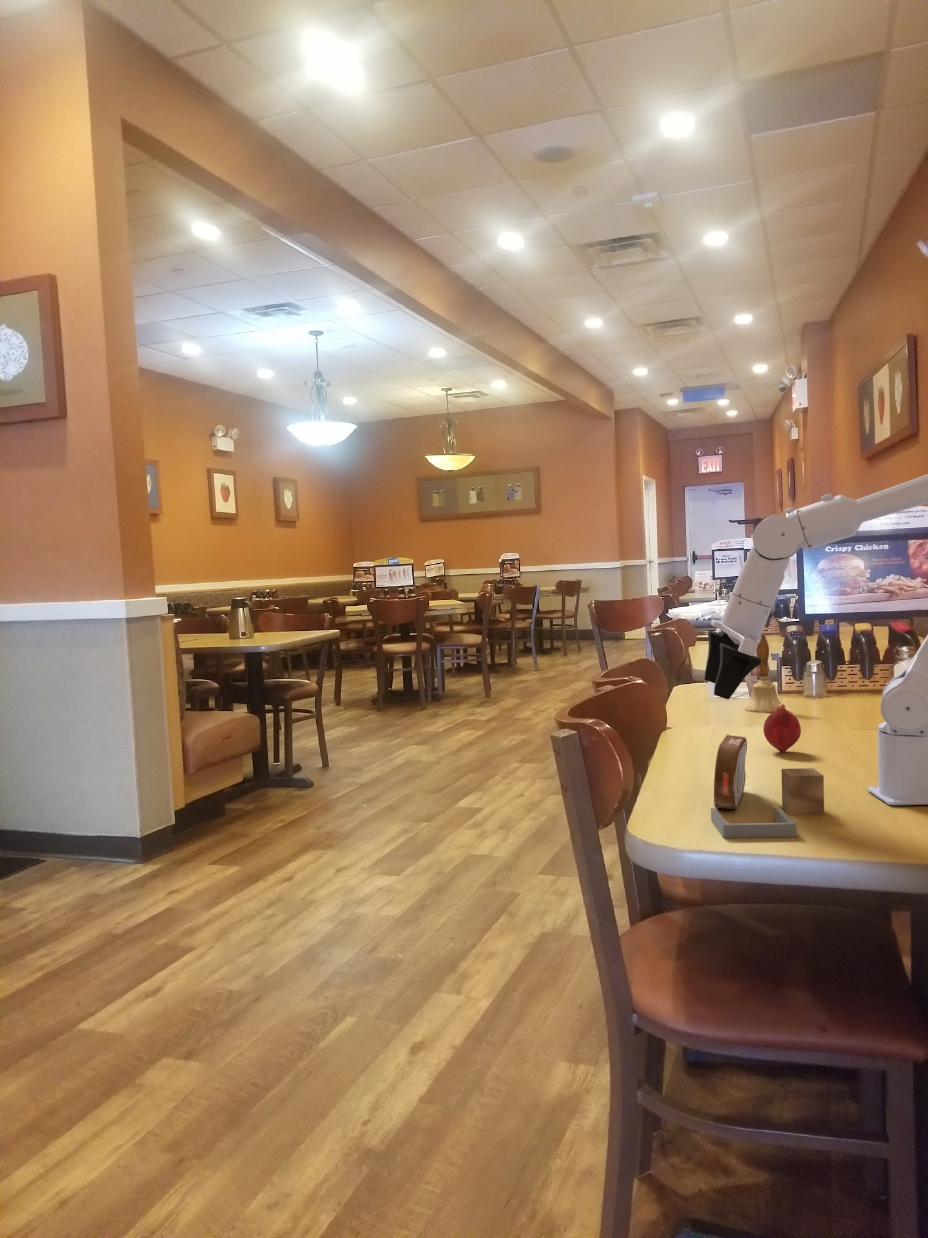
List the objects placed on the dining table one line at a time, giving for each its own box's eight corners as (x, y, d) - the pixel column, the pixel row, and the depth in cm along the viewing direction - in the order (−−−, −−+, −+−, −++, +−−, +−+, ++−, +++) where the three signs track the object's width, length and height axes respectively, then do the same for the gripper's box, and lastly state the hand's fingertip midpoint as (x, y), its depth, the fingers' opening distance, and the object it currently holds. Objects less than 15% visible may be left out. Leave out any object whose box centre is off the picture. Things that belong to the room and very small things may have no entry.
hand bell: (766, 714, 183) (764, 637, 182) (735, 709, 190) (734, 635, 189) (794, 709, 187) (792, 634, 186) (763, 705, 194) (761, 632, 193)
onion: (804, 755, 143) (803, 706, 142) (766, 755, 144) (765, 707, 143) (797, 748, 148) (797, 701, 148) (761, 748, 150) (761, 701, 149)
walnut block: (814, 806, 114) (813, 768, 113) (824, 815, 110) (823, 775, 109) (782, 807, 114) (781, 768, 114) (791, 815, 110) (790, 776, 110)
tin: (726, 787, 125) (725, 728, 125) (750, 789, 124) (748, 729, 123) (711, 816, 111) (710, 750, 111) (737, 818, 110) (736, 751, 110)
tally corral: (779, 819, 109) (778, 807, 108) (796, 837, 101) (796, 824, 101) (711, 820, 109) (710, 808, 109) (723, 838, 102) (723, 825, 102)
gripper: (714, 582, 130) (681, 667, 133) (735, 600, 116) (697, 694, 119) (760, 597, 130) (726, 682, 133) (786, 617, 116) (747, 711, 119)
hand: (716, 689), depth 126 cm, fingers open, 7 cm apart
